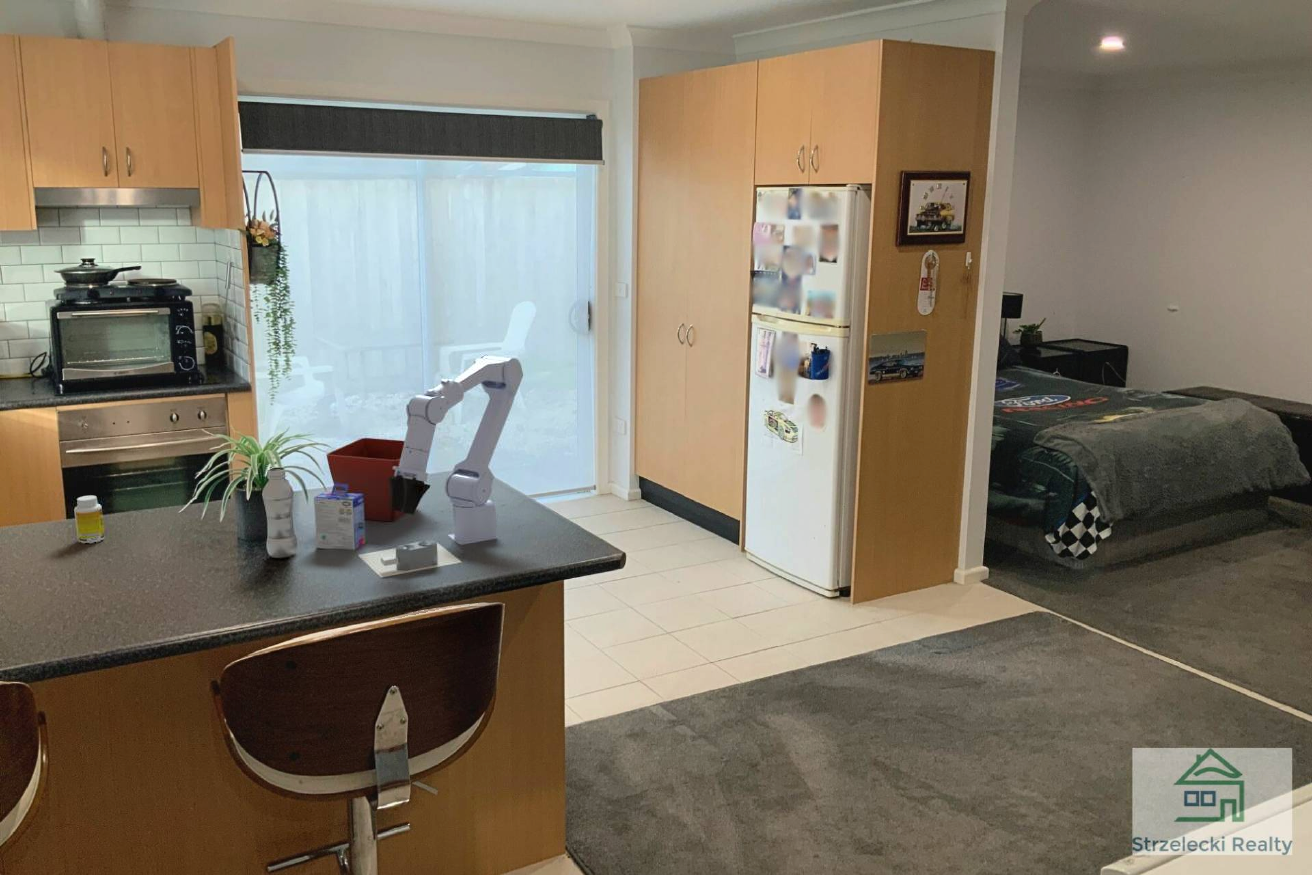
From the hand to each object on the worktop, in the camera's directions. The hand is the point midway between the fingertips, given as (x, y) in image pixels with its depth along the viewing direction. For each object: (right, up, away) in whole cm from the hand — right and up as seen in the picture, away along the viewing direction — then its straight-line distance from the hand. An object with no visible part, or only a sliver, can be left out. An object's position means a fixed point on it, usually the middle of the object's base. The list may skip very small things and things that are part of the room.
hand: (401, 512), depth 226 cm
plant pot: (-14, -3, +40) cm, 42 cm away
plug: (+2, -12, +1) cm, 12 cm away
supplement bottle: (-75, -8, +17) cm, 78 cm away
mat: (0, -11, +6) cm, 13 cm away
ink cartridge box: (-17, -9, +15) cm, 25 cm away
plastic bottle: (-28, -11, +8) cm, 31 cm away
